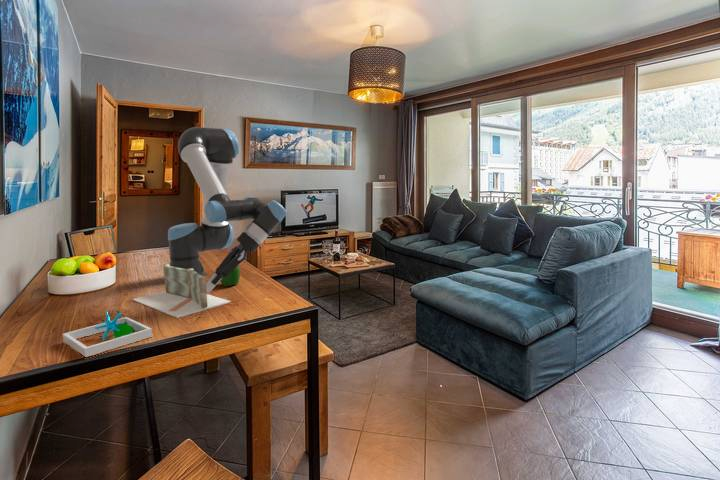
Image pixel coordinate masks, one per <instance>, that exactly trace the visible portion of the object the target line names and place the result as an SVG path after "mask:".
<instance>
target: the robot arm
mask: <svg viewBox="0 0 720 480" xmlns="http://www.w3.org/2000/svg"><path fill="white" fill-rule="evenodd" d="M177 149H178V150H177V151H178V154H179V156H180V158H181V160H182V161H183V162H184V163H186V164H187V166H188V168H189V170H190V172H191V173H192V176H193V178H194V180H195V181H196V184H197V185H198V187H199V190H200V191H201V193H202V195H203V197H204V198H205V205H204V215H205V216H204V217H203V218H202V219H201V222H200V224H201V225H197V223H196V222H188V223H187V222H186V223H181V224H177V225H173V226H171V227H170V228H168V230H167V241H168V252H169V266H172V267H178V268H183V269H190V268H193V269H194V271H196V272H197V273H199V274H200V275H202V276H203V277H206V272H205V271H206V270H205V269H204V266H203V263H202V262H201V259H200V253H202V252H210V251H216V250H217V251H220V250H223V249H227V248H229V247H230V246H231V244H232V243H233V241H234V229H233V227H232V225H231V224H230V223H229V222H239V221H251V220H252V221H251V222H249V224H248V226H246V228H245V229H244V231H243V232H241V233H240V234H239V236H238V237H237V238H236V241H237V242H238V243H239V244H238V245H237V246H235V247H233V248H231V249H230V251H229V252H228V253H227V255H226V256H225V257H224V259H223V260H222V262H221V263H220V264H219V265H218V266H217V268H216V269H215V272H214V273H213V275H211V277H210V278H209V279H208V280H207V281H206V291H207V294H210V293H211V292H212V290H213V289H215V287H216V286H217V285H218V284H219V282H221V281H220V280H221V279H222V278H226V277H227V276H228V275H229V274H230V273H231V272H232V271H233V270H234V269H235V268H236V267H237V266H239V265H240V264H241V263H242V262H244V261H245V259H246V256H247V253H248V252H251V253H255V252H256V250H258V248H259V247H260V245H261V244H262V243H263V242H264V241H267V240H268V236H269V235H270V234H271V233H272V232H273V231H274V230H275V229H276V228H277V227H278V226H279V224H280V223H281V222H282V221H283V219H284V218H285V217H286V216H287V214H288V211H287V209H285V207H284V206H283V205H282V204H280V203H279V202H278V201H276V200H275V199H272V200H270V201H269V202H268V203H267V202H265V201H263V200H261V199H260V198H258V197H255V196H251V195H250V196H247V197H245V198H242V199H234V200H233V199H230V197H229V195H228V183H229V182H228V181H229V168H230V166H231V165H232V164H233V159H236V158H237V157H238V155H239V153H240V144H239V140H238V137H237V135H236V134H235V132H234V131H232V130H230V129H225V128H216V127H215V128H214V127H201V126H195V127H194V126H193V127H190V128H188V129H185V131H184V132H183V133H182V134H181V135H180V137H179V138H178V142H177Z"/></svg>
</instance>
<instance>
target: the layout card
mask: <svg viewBox="0 0 720 480" xmlns="http://www.w3.org/2000/svg"><path fill="white" fill-rule="evenodd" d="M132 301H134V302H137V303H139V304H142V305H144V306H146V307H149V308H151V309H155V310H157V311H158V312H160V313H161V312H162V313H164V314H167V315H169V316H172V317H174V318H176V319H180V318H182V317H185V316H190V315H194V314H196V313H199V312H203V311H206V310H209V309H213V308H217V307H220V306H222V305H226V304H227V305H228V304H230V303H231V300H228V299H225V298H222V297H217V296H214V295H212V294H209V293H207V305H208V307H205V308H202V307H201V305H200V304H198V303H197V302H196V301H195V300H194V299H193V298H189V297H186V296H182V295H178V294H174V293H170V292H166V290H164V291H161V292H157V293H152V294H148V295H144V296H140V297H135V298H132ZM179 317H180V318H179Z"/></svg>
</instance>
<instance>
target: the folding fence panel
mask: <svg viewBox="0 0 720 480" xmlns="http://www.w3.org/2000/svg"><path fill="white" fill-rule="evenodd" d="M190 283H191V295H192V298H193V299H194V300H195V301H196V302H197V303H198V304H200V305H201V307H202V308H205V307H208V305H207V294H208V292H207V291H206V283H207V281H206V276H204V277H203V276H202V275H200V274H199V273H197V272H196V271H194V270H190Z"/></svg>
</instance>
